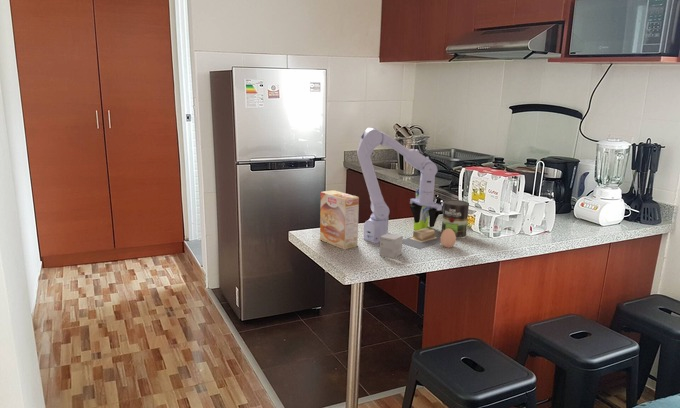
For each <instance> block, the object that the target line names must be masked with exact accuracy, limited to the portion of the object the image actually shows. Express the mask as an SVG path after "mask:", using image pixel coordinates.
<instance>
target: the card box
mask: <svg viewBox="0 0 680 408" xmlns="http://www.w3.org/2000/svg"><path fill="white" fill-rule="evenodd" d="M412 233H413V234H412V237H413V239H416V240H419V241H424V240H428V239H431V238H435V236H436V230H435V229H431V228H429V227H427V228H424V229H420V230H413V232H412Z"/></svg>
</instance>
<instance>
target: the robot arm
mask: <svg viewBox="0 0 680 408" xmlns="http://www.w3.org/2000/svg"><path fill="white" fill-rule="evenodd" d="M379 145H380V146H383V147H384V146H385V147H386V146H387V147H389V148H390V149H392V150H393V151H396V152H397V153H398V154H400V155H401V156H403V158H404V162H406V163H407V164H409V165H410V166H411V167H412V168H414V169H416V170H417V171H419V172H420V178H419V199H415V198H410V199H409V200H410V201H409V204H411V205H409V208H410V210H411V212H412V216H413V223H414V222H415V223H418V222H419V220H420V213H421V209H422V206H424V207H428V208H429V210H428V212H429V221H428V228H429V227H430V228H433V227H435V225H436V221H437V219H438V217H439V215H440V214H441V212H442V211H443V204H439V203H437V202H434V198H435V197H434V196H435V194H434V193H435V183H436V180H435V179H436V174H437V173H438V171H439V170H438V167H437V164H436V163H435V162H433V161H432V160H431V159H430V157H428V156H425V155H424V154H422V153H421V152H420V150H419V149H415V148H410V149H409V148H408V147H406V146H404V145H403V144H401V143H400V142H399V141H398V140H396V139H394V138H393V137H392V136H391V135H389V134H387V133H385V132H383V131H381V130H378V129H377V128H375V127H367V128H366V129H365V130H364V131H363V132H362V134H361V135H360V140H359V143H358V147H357V149H356V150H357V151H356V155H357V158H358V162H359V165H360V168H361V172H362V175H363V178H364V181H365V184H366V187H367V191H368V195H369V200H370V211H371V212H372V213H371V214H370V217H369V219H368V220H365V222H364V224H363V237H362V238H361V239H362V240H365V241H368V242H371V243H374V244H379V243H380V238H381V236H383V235H385V234H387V233H389V215H390V208H389V206H388V205H387V203H386V202H385V199H384V197H383V194H382V190H381V188H380V185H379V181H378V178H377V173H376V171H375V168H374V164H373V160H372V157H371V154H372V153H373V151H374V150H375V149H376V148H377V147H378V146H379Z"/></svg>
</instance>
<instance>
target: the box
mask: <svg viewBox="0 0 680 408" xmlns="http://www.w3.org/2000/svg"><path fill="white" fill-rule="evenodd" d="M414 199H419V189H417V190H415V198H414ZM428 210H430V208H428V207H424V206H422V209H421V213H420V220H419V222H418V223H415V222H414V221H413V231H416V230H420V229H424V228H429V212H428Z"/></svg>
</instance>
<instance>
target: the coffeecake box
mask: <svg viewBox="0 0 680 408" xmlns="http://www.w3.org/2000/svg"><path fill="white" fill-rule="evenodd" d="M359 201H360V197H359V196H356V195H354V194H353V195H352V194H349V193H345V192H342V191H338V190H334V189H333V190H332V189H331V190H324V191H321V192H320V209H319V210H320V214H319V215H320V219H319V222H320V223H319V228H320V230H319V241H321V240H322V241H321V242H324V243H326V242H327V243H326V244H328V245H331V246H334V247H337V248H339V249H341V250H349V249H351V248H352V249H353V248H357V247H358V241H359V240H358V236H359V235H358V234H359V210H360V209H359V208H360V207H359V206H360V204H359V203H360V202H359Z"/></svg>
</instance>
